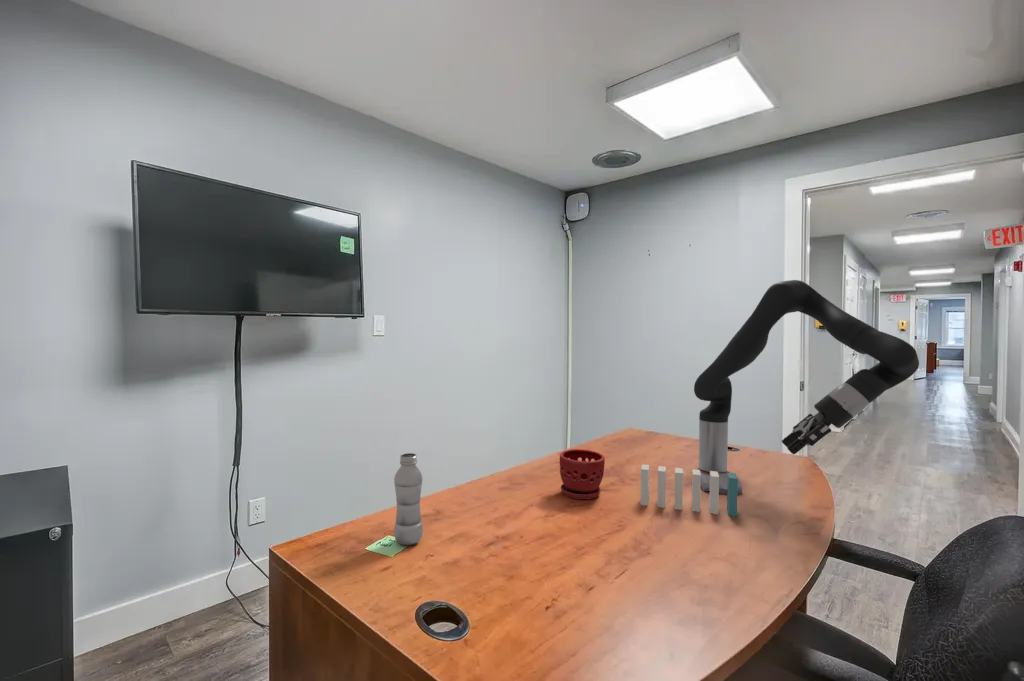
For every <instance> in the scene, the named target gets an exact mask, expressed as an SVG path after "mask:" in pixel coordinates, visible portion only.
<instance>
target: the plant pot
mask: <svg viewBox="0 0 1024 681" xmlns="http://www.w3.org/2000/svg"><path fill="white" fill-rule="evenodd" d="M605 458H606V457H605V456H604V455H603V454H602V453H600V452H598V451H594V450H588V449H580V448H579V449H578V448H576V449H575V448H573V449H572V448H571V449H567V450H564V451H561V452H560V453H559V474H560V479H561V482H562V484H561V485H560V490H561V492H562V493H563V494H564V495H565V496H567V497H569V498H571V499H577V500H590V499H595V498H597V497H598V496H599V495H600V493H601V487H600V486H601V483H602V481H603V478H604V474H605V473H604V472H605V461H606V460H605ZM579 459H581V460H579ZM586 459H587V460H586Z"/></svg>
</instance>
